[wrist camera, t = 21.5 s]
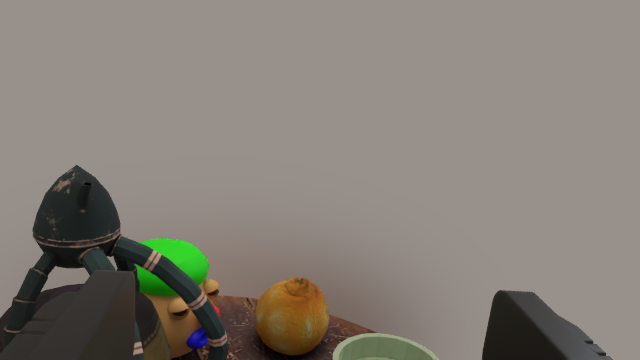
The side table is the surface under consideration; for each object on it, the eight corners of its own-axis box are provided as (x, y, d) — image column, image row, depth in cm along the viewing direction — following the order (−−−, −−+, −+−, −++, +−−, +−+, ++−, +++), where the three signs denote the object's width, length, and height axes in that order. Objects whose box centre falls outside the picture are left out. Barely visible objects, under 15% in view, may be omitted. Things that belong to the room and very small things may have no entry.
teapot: (128, 598, 30) (129, 218, 24) (-158, 455, 37) (-209, 139, 32) (230, 454, 41) (248, 170, 35) (-6, 366, 48) (-22, 120, 43)
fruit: (338, 353, 52) (332, 272, 54) (256, 360, 50) (253, 277, 53) (326, 350, 59) (321, 280, 62) (255, 356, 58) (253, 284, 60)
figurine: (90, 360, 51) (88, 246, 48) (157, 318, 59) (159, 219, 56) (183, 400, 46) (188, 278, 43) (241, 348, 55) (248, 243, 52)
